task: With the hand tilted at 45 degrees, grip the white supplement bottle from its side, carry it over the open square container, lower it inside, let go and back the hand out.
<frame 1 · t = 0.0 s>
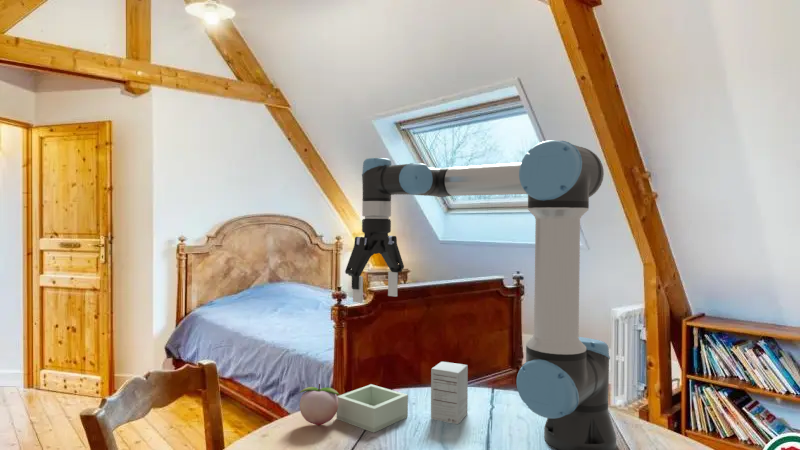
hand: (375, 299, 135), 28 cm above the table, tool pointing down, fingers open, 13 cm apart
supplement box: (449, 417, 128), on the table
open square container: (372, 417, 127), on the table
decorative fruit: (319, 427, 121), on the table
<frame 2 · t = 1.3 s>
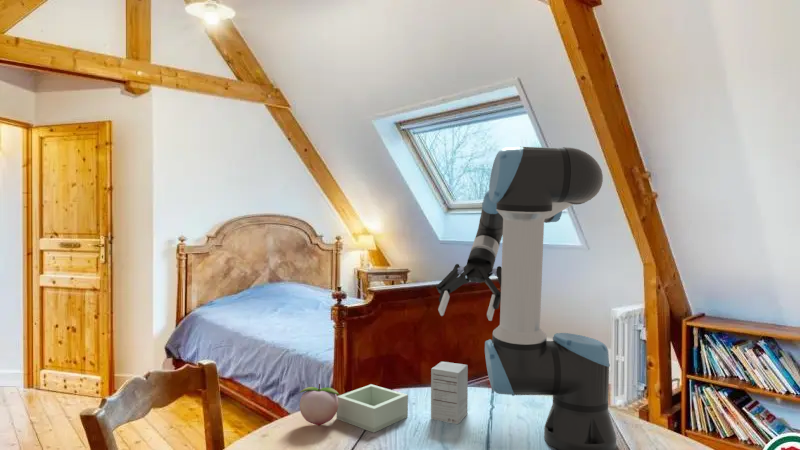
hand: (464, 315, 136), 24 cm above the table, tool tilted 45°, fingers open, 13 cm apart
nothing on the table moved.
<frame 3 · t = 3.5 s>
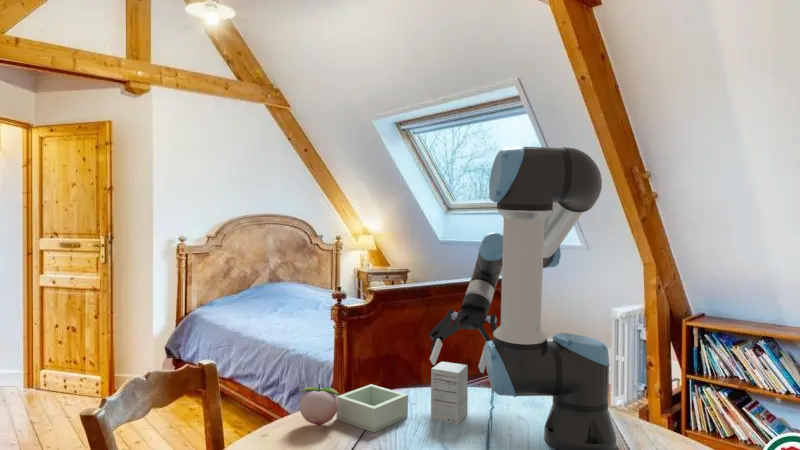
hand: (455, 366, 133), 11 cm above the table, tool tilted 45°, fingers open, 13 cm apart
nothing on the table moved.
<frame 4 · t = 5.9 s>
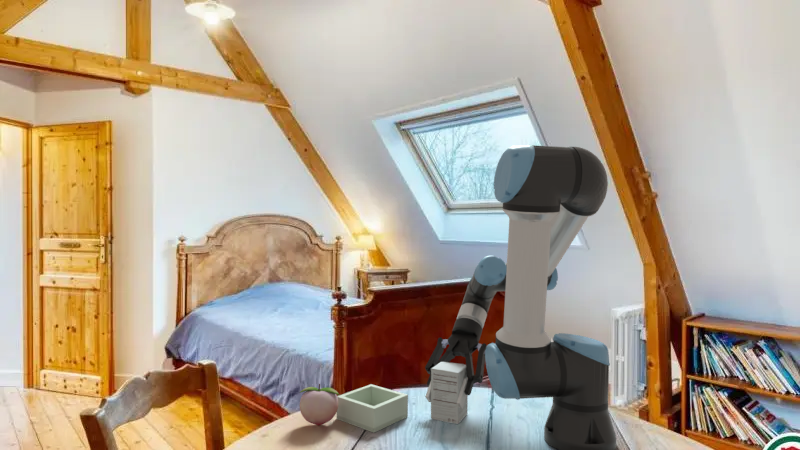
hand: (443, 402, 125), 5 cm above the table, tool tilted 45°, fingers closed on supplement box, 8 cm apart
supplement box: (449, 417, 128), on the table, touching gripper
everything else where it was.
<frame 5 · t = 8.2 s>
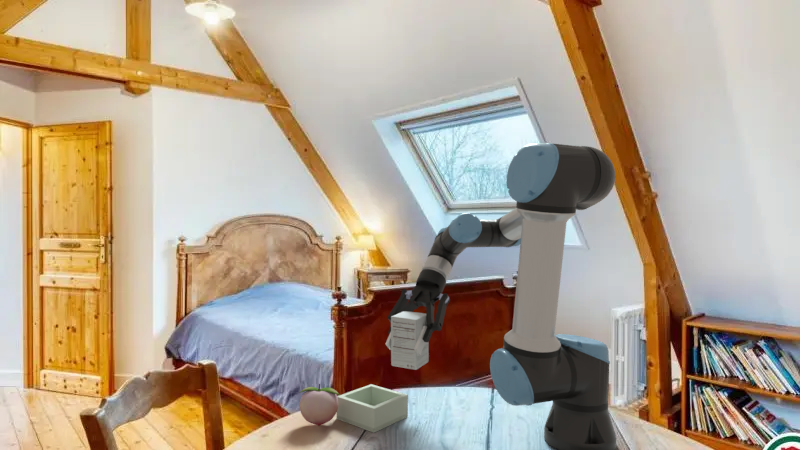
hand: (402, 349, 127), 17 cm above the table, tool tilted 45°, fingers closed on supplement box, 8 cm apart
supplement box: (409, 364, 130), point 12 cm above the table, touching gripper
everything else where it was.
when the fingers open (7 cm above the table, at t = 11.0 s): supplement box drops 1 cm, resting on open square container.
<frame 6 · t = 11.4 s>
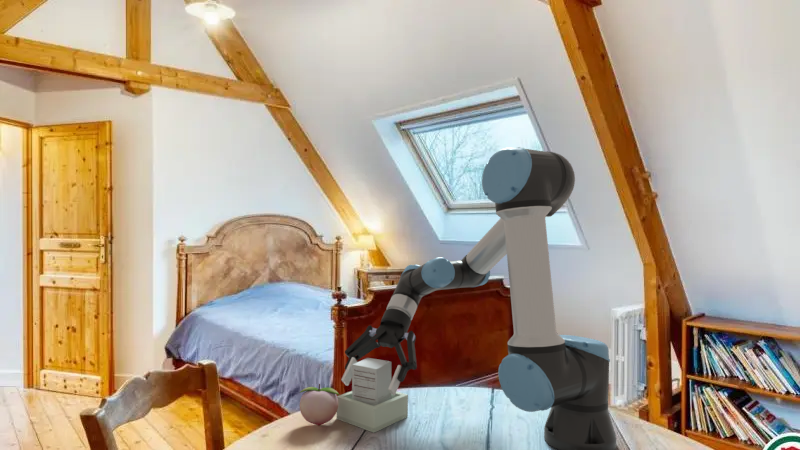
hand: (367, 387, 125), 8 cm above the table, tool tilted 45°, fingers open, 13 cm apart
supplement box: (371, 414, 127), point 1 cm above the table, touching open square container
everything else where it was.
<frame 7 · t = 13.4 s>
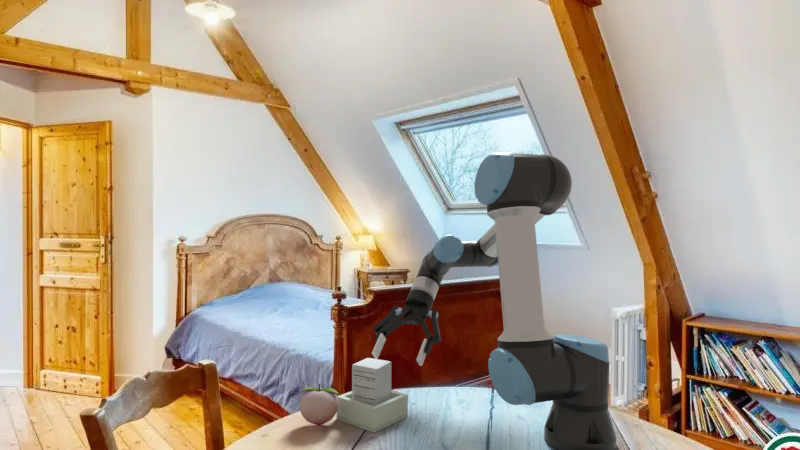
hand: (396, 359, 136), 12 cm above the table, tool tilted 45°, fingers open, 13 cm apart
nothing on the table moved.
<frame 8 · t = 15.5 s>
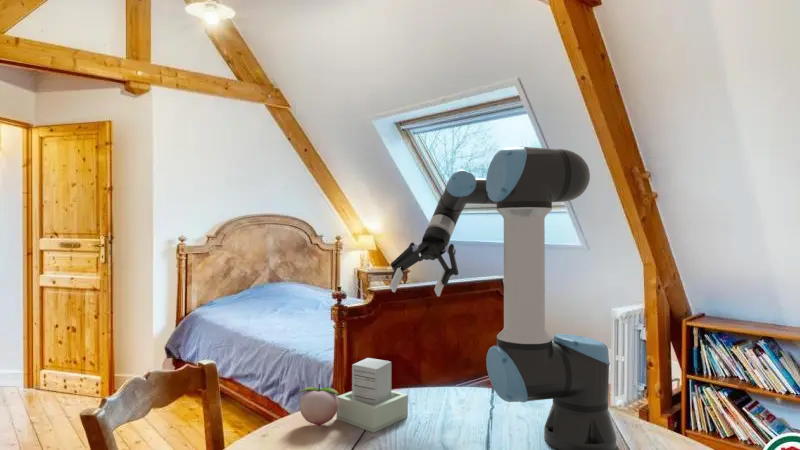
hand: (413, 291, 138), 30 cm above the table, tool tilted 45°, fingers open, 13 cm apart
nothing on the table moved.
at the end: supplement box inside the target area on the open square container (0.3 cm from its centre), point 0.8 cm above the open square container's base; supplement box tilted 0°; the gripper is holding nothing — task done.
